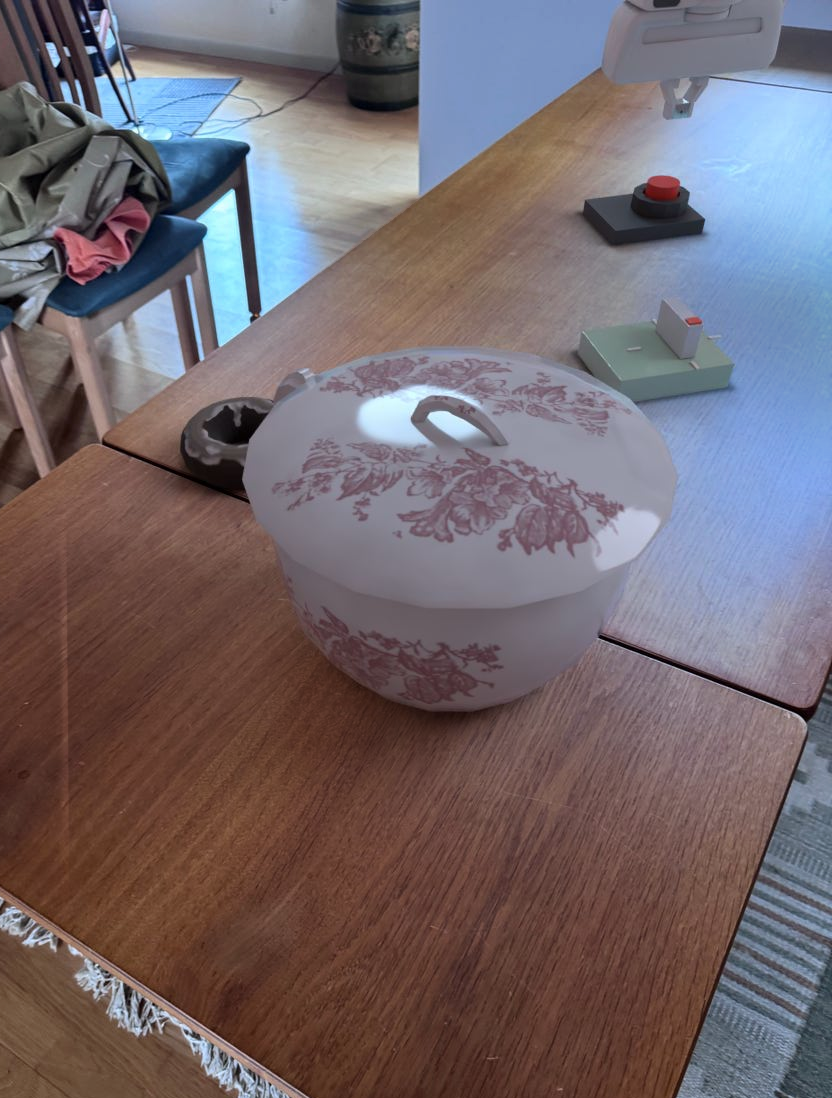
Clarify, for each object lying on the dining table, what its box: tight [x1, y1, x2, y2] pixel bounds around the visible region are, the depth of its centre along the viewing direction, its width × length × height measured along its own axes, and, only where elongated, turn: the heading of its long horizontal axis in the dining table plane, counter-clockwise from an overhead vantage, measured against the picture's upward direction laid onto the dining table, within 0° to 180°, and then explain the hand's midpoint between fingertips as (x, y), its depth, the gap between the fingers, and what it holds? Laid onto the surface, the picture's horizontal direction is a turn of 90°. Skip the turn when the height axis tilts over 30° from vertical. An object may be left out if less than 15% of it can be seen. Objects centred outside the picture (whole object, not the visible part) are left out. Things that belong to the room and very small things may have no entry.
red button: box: [645, 174, 681, 200], centre depth 115 cm, size 4×4×2 cm
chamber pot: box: [242, 345, 679, 712], centre depth 63 cm, size 28×28×21 cm
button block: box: [582, 182, 706, 247], centre depth 116 cm, size 12×10×4 cm
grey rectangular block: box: [655, 296, 705, 359], centre depth 91 cm, size 6×2×4 cm, turn 12°
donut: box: [179, 396, 274, 490], centre depth 85 cm, size 12×12×4 cm
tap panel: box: [577, 317, 735, 403], centre depth 93 cm, size 13×10×3 cm
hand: (676, 117), depth 109 cm, fingers closed
